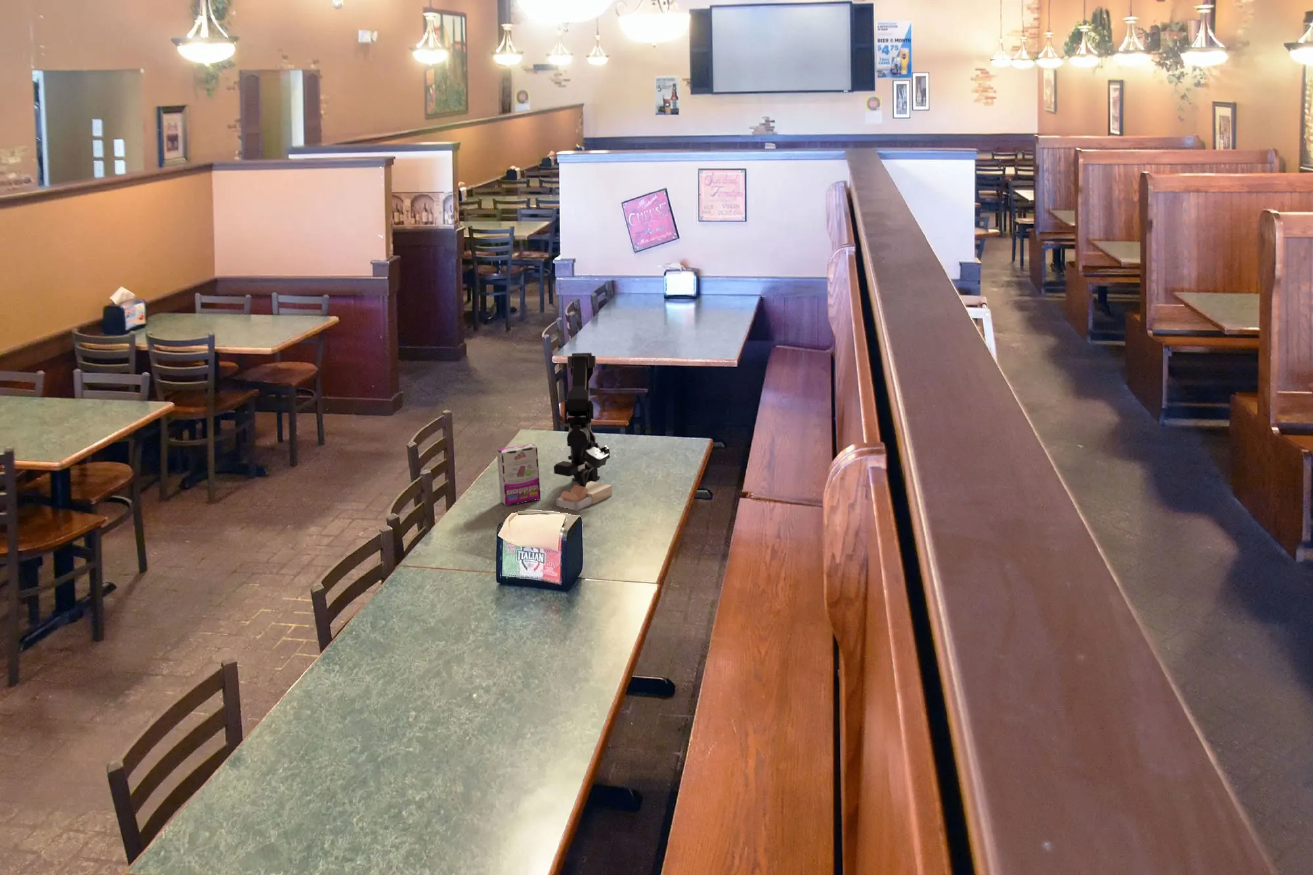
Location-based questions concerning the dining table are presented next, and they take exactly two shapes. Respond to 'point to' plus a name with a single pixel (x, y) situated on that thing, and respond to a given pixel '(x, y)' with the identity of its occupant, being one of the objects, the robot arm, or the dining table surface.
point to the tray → (574, 503)
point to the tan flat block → (598, 491)
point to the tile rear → (580, 491)
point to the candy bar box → (518, 474)
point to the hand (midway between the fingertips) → (583, 489)
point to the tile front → (569, 496)
